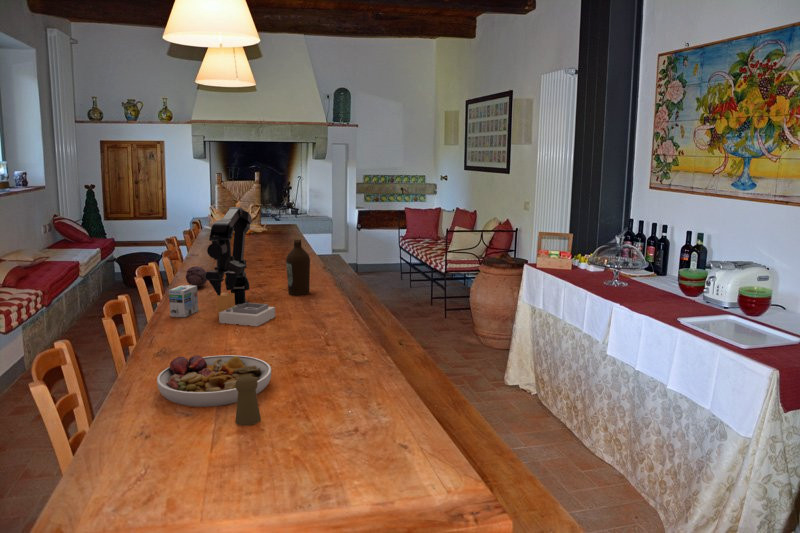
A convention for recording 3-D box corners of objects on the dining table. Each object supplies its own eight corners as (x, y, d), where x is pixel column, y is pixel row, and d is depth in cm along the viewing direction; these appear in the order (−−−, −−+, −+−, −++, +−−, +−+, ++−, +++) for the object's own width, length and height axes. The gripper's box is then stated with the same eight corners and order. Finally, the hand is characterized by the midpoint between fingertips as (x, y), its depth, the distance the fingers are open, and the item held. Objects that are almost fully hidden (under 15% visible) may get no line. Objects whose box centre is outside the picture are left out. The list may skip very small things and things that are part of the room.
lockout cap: (224, 311, 259) (223, 292, 258) (235, 312, 258) (234, 293, 256) (217, 314, 254) (216, 295, 253) (228, 315, 253) (227, 295, 252)
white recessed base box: (238, 313, 256) (238, 300, 255) (275, 317, 251) (274, 303, 250) (219, 323, 242) (218, 308, 241) (257, 326, 238) (256, 312, 237)
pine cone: (209, 290, 298) (208, 269, 296) (187, 291, 295) (186, 270, 293) (206, 282, 314) (205, 262, 312) (185, 284, 311) (184, 263, 309)
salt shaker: (248, 413, 160) (247, 371, 158) (266, 419, 157) (264, 376, 155) (230, 421, 156) (227, 378, 154) (247, 427, 152) (245, 383, 150)
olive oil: (307, 290, 298) (306, 236, 294) (313, 295, 289) (312, 239, 284) (284, 292, 294) (283, 238, 290) (290, 297, 284) (288, 241, 280)
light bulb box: (185, 317, 250) (183, 290, 248) (169, 317, 251) (167, 290, 249) (199, 311, 260) (197, 285, 258) (183, 310, 261) (182, 284, 259)
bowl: (291, 378, 186) (290, 352, 184) (232, 418, 158) (230, 388, 157) (203, 366, 196) (202, 341, 194) (133, 402, 168) (130, 373, 166)
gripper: (228, 259, 241) (230, 299, 244) (253, 251, 258) (255, 289, 261) (203, 257, 244) (205, 297, 247) (229, 249, 261) (231, 287, 264)
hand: (225, 292), depth 255 cm, fingers open, 9 cm apart
